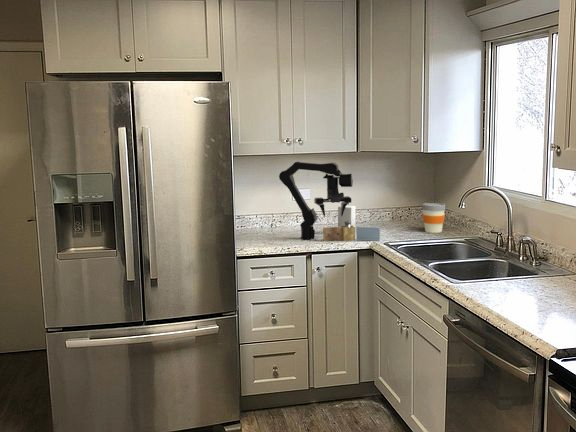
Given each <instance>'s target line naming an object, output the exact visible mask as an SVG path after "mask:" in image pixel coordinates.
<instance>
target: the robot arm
mask: <svg viewBox="0 0 576 432" xmlns="http://www.w3.org/2000/svg"><path fill="white" fill-rule="evenodd" d="M299 170H303V171H304V170H305V171H316V172H321V173H323V174H325V175H324V176H323V177H322V179H326V194H327V195H326V198H323V197H314V200H313V202H314V204H316V205H317V206H319V208H320V211H321V212H322V215H323V217H324V218H326V211H325V203H338V204H339V203H340V206H341V216H342V215H343V212H344V209H345V207H346V206H348V205H349V204H350V203H351V204H352V197H350V196H349V195H348V196H345V195H344V194H345V193H344V192H339V186H340V187H341V188H352V187H353V182H354V181H353V180H354V179H353V175H352V173H342V172H341V170H340V169H339V165H338V164H337V163H336V162H326V163H315V162H303V161H296V162H294V163H293V164H292V165H290V166H289V167H288V168H287V169H285V170H282V171H280V173H279V174H278V178H279V180H280V181H281V182H282V184H283V185H284V186H285V187H286V188H287V189H288V190H289V192H290V194H291V195H292V197H293V199H294V201H295V202H296V204H297V206H298V208H299V209H300V212H301V215H302V218H303V221H302V222H301V223H300V224H299V226H300V232H301V233H300V235H301V236H300V239H301V240H315V237H316V233H315V228H314V224H315V223H316V222H317V221H318V220H317V219H318V216H317V215H318V214H317V213H316V211H315V208H310V207H309V206H308V204H307V202H306V200H305V199H304V197H303V195H302V192H300V189H299V188H298V187H297V185H296V182H295V178H294V174H296V172H298V171H299Z"/></svg>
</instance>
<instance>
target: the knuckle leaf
mask: <svg viewBox="0 0 576 432" xmlns="http://www.w3.org/2000/svg"><path fill="white" fill-rule="evenodd" d="M322 229H323V230H322V237H323V242H335V240H339V241H343V242H353V240H355V241H356V226H355V227H354V226H352V225H351V227H345V226H341V227H338V226H330V227H329V226H328V227H323V228H322Z"/></svg>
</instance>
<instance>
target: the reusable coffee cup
mask: <svg viewBox="0 0 576 432" xmlns="http://www.w3.org/2000/svg"><path fill="white" fill-rule="evenodd" d="M421 210H422V220H423V221H422V222H423V224H424V231H425V232H426V233H433V234H436V233H437V234H438V233H442V232H443V227H444V226H443V225H444V222H445V217H446V214H445V211H446V203H441V202H425V203H422V207H421Z"/></svg>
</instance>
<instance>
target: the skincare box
mask: <svg viewBox="0 0 576 432" xmlns="http://www.w3.org/2000/svg"><path fill="white" fill-rule="evenodd" d="M356 209H357V207H356V205H346V207H345V209H344V212H343V215H342V216H341V205H338V206H337V227H341V226H345V223H344V221H351V225H352V226H354V227H355V228H356Z"/></svg>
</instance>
